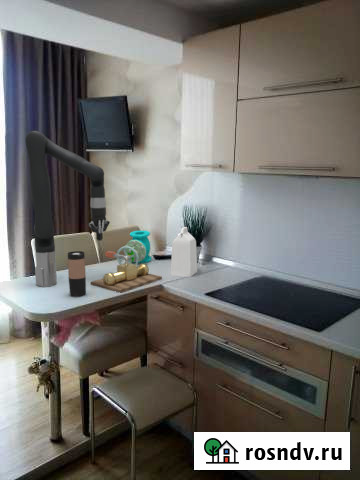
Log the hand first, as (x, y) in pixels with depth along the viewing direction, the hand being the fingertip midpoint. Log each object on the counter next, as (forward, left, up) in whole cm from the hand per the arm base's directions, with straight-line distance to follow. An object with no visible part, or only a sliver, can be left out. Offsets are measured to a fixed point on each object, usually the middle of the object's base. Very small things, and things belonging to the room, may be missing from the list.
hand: (99, 240), depth 200 cm
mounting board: (+7, -12, -22) cm, 26 cm away
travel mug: (-22, -9, -22) cm, 32 cm away
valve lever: (+7, -5, -10) cm, 14 cm away
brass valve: (+7, -12, -22) cm, 26 cm away
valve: (+38, +12, -22) cm, 46 cm away
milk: (+39, -25, -22) cm, 51 cm away
